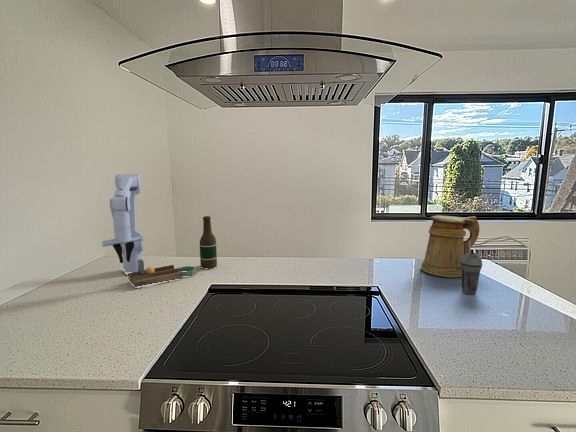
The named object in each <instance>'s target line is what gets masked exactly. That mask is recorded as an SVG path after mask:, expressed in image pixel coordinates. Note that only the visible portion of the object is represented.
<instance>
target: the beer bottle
mask: <svg viewBox="0 0 576 432" xmlns="http://www.w3.org/2000/svg"><path fill="white" fill-rule="evenodd" d="M211 217H212V216H210V215H209V216H208V215H205V216H203V217H202V220H203V223H202V224H203V228H202V229H203V231H202V235H201V237H200V239H199V259H200V268H201V267H203V268H213V269H215V268H214V267H216V268H217V266H218V257H217V256H218V255H217V253H218V252H217V239H216V236H215V235H214V234H213V231H212V223H211V220H212V218H211ZM203 268H202V269H203Z"/></svg>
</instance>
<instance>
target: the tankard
mask: <svg viewBox="0 0 576 432" xmlns="http://www.w3.org/2000/svg"><path fill="white" fill-rule="evenodd" d="M429 220H432V224H431V225H430V227H429V230H428V234H429V237H428V242H427V247H426V251H425V256H424V258H423V259H422V260H421V261H422V262H421V265H420V268H421V271H423V272H424V273H427V274H430V275H432V276H437V277H444V278H462V273H461V263H460V262H461V259H462V257H463V256H464V255H465V254H466V253H469V241H470V246H471V248H472V247H473V246H474V245H475V243H476V241H477V240H478V237H479V234H480V223H479V221H478V220H477V217H476V216H475V215H474V216H467V217H463V216H454V215H453V216H452V215H451V216H450V215H432V216H430V217H429ZM466 230H468V232H469V237H468V238H467V239H465V238H464V237H466V234H467V233H466ZM464 239H465V240H464Z"/></svg>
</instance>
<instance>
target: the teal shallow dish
mask: <svg viewBox="0 0 576 432" xmlns="http://www.w3.org/2000/svg"><path fill="white" fill-rule="evenodd" d="M178 268H179V272H180V274H181V276H192V275H194V274H197V267H195V266H191V265H189V266H188V265H185V266H180V267H178ZM182 271H187V272H182ZM194 276H195V275H194ZM192 277H193V276H192Z"/></svg>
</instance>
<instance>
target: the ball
mask: <svg viewBox="0 0 576 432" xmlns="http://www.w3.org/2000/svg"><path fill="white" fill-rule="evenodd" d="M154 268H155V267H153V266H148V267H146V269H145V270H146V274H150V273H154V272H155V270H154Z"/></svg>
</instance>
